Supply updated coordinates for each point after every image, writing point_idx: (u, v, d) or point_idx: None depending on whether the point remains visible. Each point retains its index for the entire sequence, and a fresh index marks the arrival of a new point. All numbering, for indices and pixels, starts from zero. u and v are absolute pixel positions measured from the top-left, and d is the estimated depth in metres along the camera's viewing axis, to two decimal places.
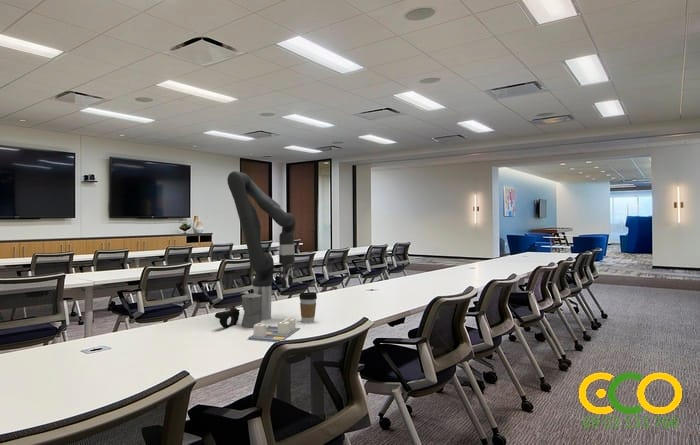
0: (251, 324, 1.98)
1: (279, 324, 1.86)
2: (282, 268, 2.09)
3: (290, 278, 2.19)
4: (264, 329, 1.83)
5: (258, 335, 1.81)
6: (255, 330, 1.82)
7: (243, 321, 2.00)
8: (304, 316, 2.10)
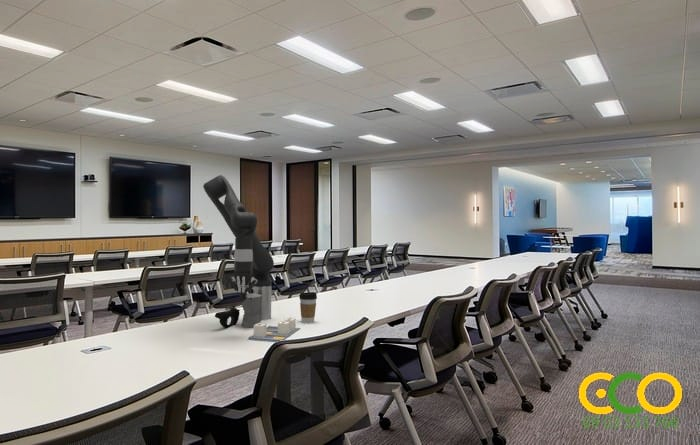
0: (251, 324, 1.98)
1: (279, 324, 1.86)
2: (256, 282, 1.84)
3: (242, 292, 1.85)
4: (264, 329, 1.83)
5: (258, 335, 1.81)
6: (255, 330, 1.82)
7: (243, 321, 2.00)
8: (303, 316, 2.10)
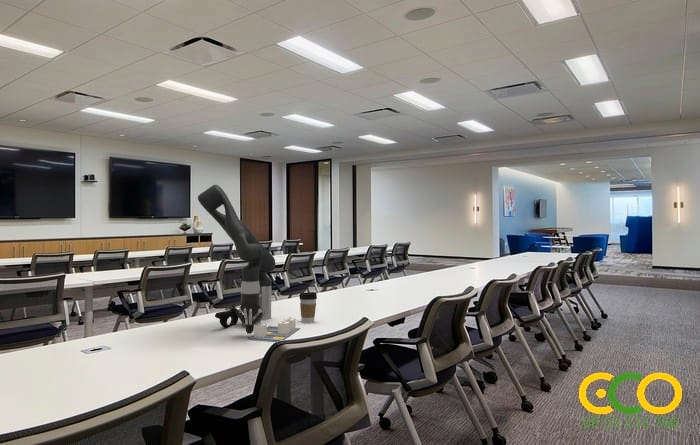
0: None
1: (279, 324, 1.86)
2: (263, 314, 1.83)
3: None
4: (264, 329, 1.83)
5: (258, 335, 1.81)
6: (255, 330, 1.82)
7: None
8: (304, 316, 2.10)
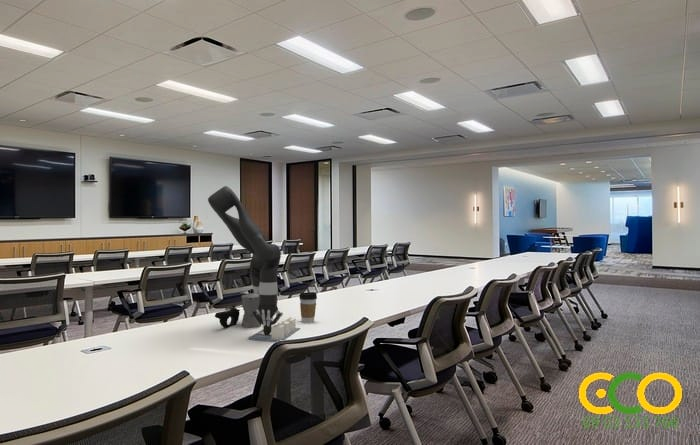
0: (251, 323, 1.98)
1: None
2: (281, 315, 1.82)
3: None
4: (282, 330, 1.81)
5: (276, 337, 1.80)
6: (273, 331, 1.80)
7: (243, 321, 2.00)
8: (304, 316, 2.10)
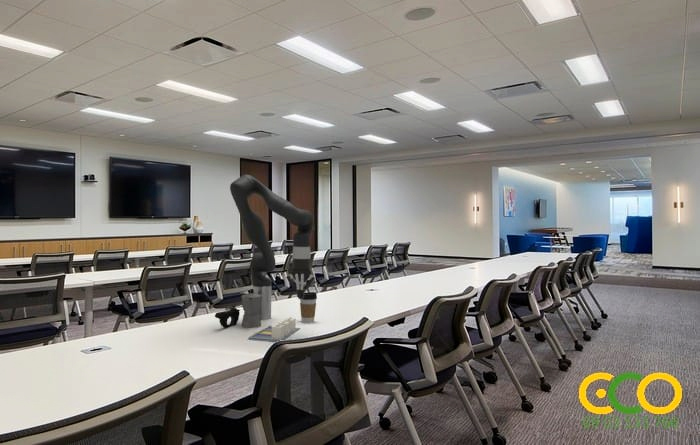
0: (251, 324, 1.98)
1: None
2: (314, 279, 1.85)
3: None
4: (282, 330, 1.81)
5: (276, 337, 1.80)
6: (273, 331, 1.80)
7: (243, 321, 2.00)
8: (303, 316, 2.10)
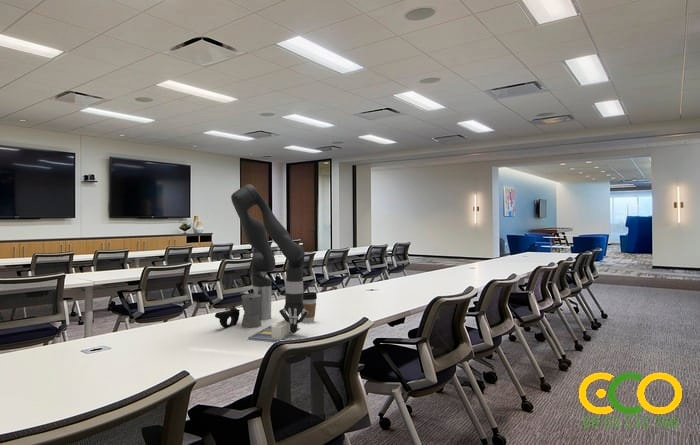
0: (251, 323, 1.98)
1: None
2: (307, 313, 1.86)
3: None
4: (282, 330, 1.81)
5: (276, 337, 1.80)
6: (273, 331, 1.80)
7: (243, 321, 2.00)
8: None
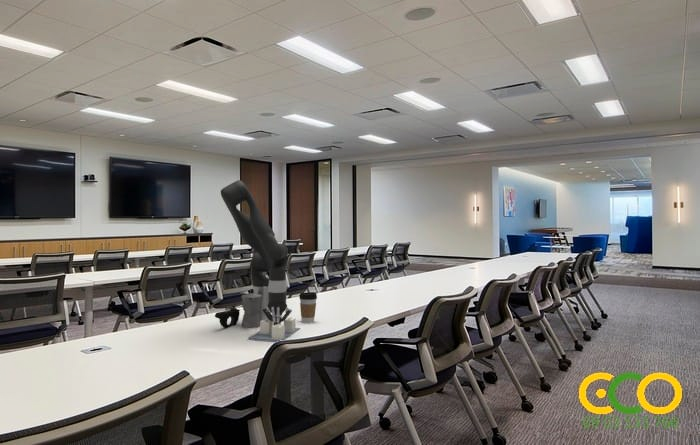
0: (251, 323, 1.98)
1: (261, 323, 1.88)
2: (290, 312, 1.88)
3: None
4: (282, 330, 1.81)
5: (276, 337, 1.80)
6: (273, 331, 1.80)
7: (243, 321, 2.00)
8: (304, 316, 2.10)
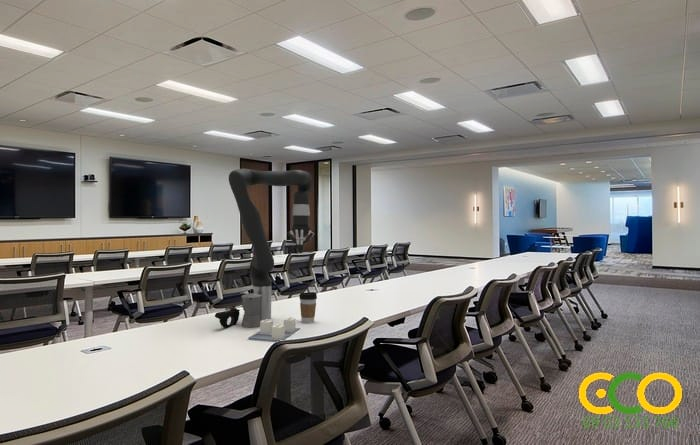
0: (251, 324, 1.98)
1: (261, 323, 1.88)
2: (313, 234, 2.00)
3: None
4: (282, 330, 1.81)
5: (276, 337, 1.80)
6: (273, 331, 1.80)
7: (243, 321, 2.00)
8: (304, 316, 2.10)
